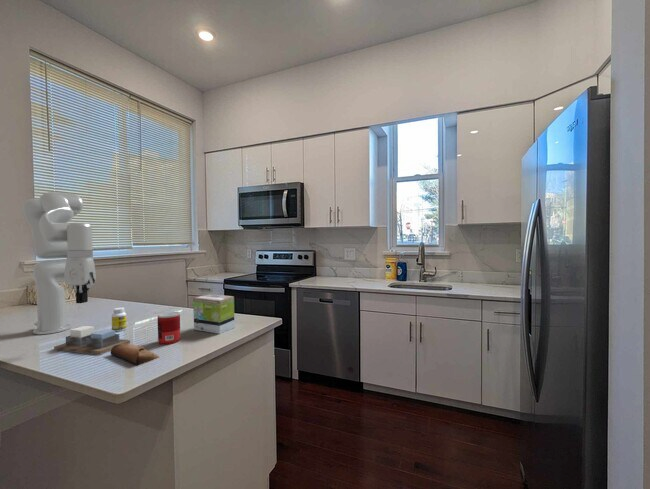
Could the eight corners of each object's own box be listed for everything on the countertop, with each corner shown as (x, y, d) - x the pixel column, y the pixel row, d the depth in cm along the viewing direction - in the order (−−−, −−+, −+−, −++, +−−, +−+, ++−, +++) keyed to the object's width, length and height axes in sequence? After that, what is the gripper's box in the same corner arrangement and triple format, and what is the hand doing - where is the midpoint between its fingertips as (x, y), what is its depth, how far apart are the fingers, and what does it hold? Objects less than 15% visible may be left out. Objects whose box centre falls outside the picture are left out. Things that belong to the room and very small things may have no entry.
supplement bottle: (119, 332, 133) (118, 310, 132) (109, 331, 134) (108, 309, 134) (129, 328, 138) (128, 307, 138) (119, 328, 139) (118, 306, 139)
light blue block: (90, 342, 112) (90, 333, 112) (104, 338, 117) (104, 329, 117) (101, 344, 111) (101, 334, 111) (115, 339, 116) (114, 330, 116)
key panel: (54, 349, 112) (53, 338, 112) (86, 339, 124) (86, 329, 124) (100, 354, 107) (100, 342, 107) (130, 343, 118) (129, 332, 118)
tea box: (193, 330, 133) (192, 297, 133) (209, 324, 143) (208, 293, 142) (220, 334, 128) (219, 299, 127) (235, 327, 137) (234, 295, 137)
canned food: (184, 339, 122) (184, 312, 122) (168, 345, 115) (168, 317, 114) (170, 337, 125) (169, 310, 124) (153, 343, 117) (152, 315, 117)
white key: (70, 338, 115) (70, 329, 114) (84, 334, 120) (84, 325, 119) (81, 339, 113) (80, 330, 113) (94, 335, 118) (94, 326, 118)
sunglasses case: (162, 356, 104) (152, 343, 101) (144, 374, 99) (133, 360, 96) (135, 347, 113) (125, 335, 110) (117, 362, 108) (106, 350, 105)
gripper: (54, 255, 114) (56, 304, 114) (85, 255, 110) (87, 305, 111) (75, 254, 121) (77, 299, 122) (105, 254, 117) (106, 301, 118)
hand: (81, 302), depth 116 cm, fingers closed
